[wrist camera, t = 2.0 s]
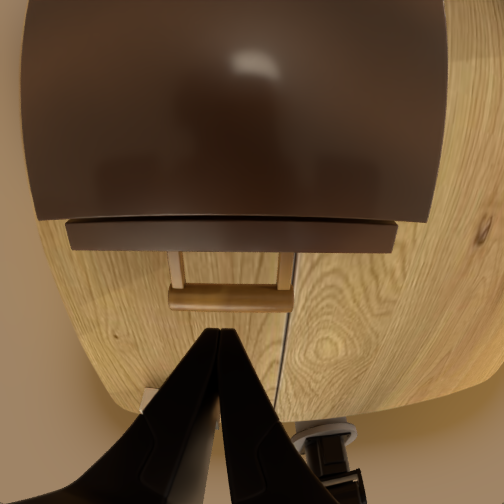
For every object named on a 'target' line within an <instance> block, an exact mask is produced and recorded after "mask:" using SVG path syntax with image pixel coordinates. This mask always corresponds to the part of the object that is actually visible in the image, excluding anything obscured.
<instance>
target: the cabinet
mask: <svg viewBox="0 0 504 504" xmlns="http://www.w3.org/2000/svg"><path fill="white" fill-rule="evenodd" d="M447 86H448V44H447V26H446V15H445V6H444V0H29V3H28V8H27V14H26V20H25V28H24V36H23V46H22V59H21V116H22V130H23V141H24V149H25V157H26V164H27V170H28V176H29V182H30V187H31V192H32V197H33V202H34V206H35V211H36V215H37V219H38V220H39V221H42V220H59V219H78V218H100V217H129V216H180V215H248V216H299V217H329V218H353V219H373V220H391V221H407V222H421V223H427V221H428V217H429V213H430V208H431V204H432V200H433V195H434V190H435V185H436V180H437V175H438V169H439V164H440V157H441V151H442V144H443V136H444V127H445V117H446V105H447Z"/></svg>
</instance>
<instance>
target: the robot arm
mask: <svg viewBox="0 0 504 504" xmlns="http://www.w3.org/2000/svg"><path fill="white" fill-rule="evenodd" d="M219 403H220V413H221V423H222V432H223V441H224V450H225V458H226V466H227V473H228V481H229V489H230V496H231V502H232V504H367V500H366V494H365V489H364V485H363V480H362V476H361V471H360V469H359V468H358V469H356V470H353V471H350V468H349V462H348V457H347V452H346V447H345V443H346V442H347V440H348V439H349V438H350V437H351V432H346V433H339V434H332V435H324V436H315V437H307V438H306V439H305V441H304V443H303V445H302V447H301V449H300V451H299V452H298V451H297V449H296V448H295V446H294V444H293V443H292V441H291V439H290V438H289V436H288V434H287V432H286V431H285V429H284V427H283V425H282V423H281V422H280V421H279V418H278V416H277V414H276V412H275V410H274V408H273V406H272V404H271V402H270V400H269V398H268V396H267V394H266V392H265V390H264V388H263V386H262V384H261V382H260V380H259V378H258V376H257V374H256V372H255V370H254V368H253V366H252V363H251V361H250V359H249V357H248V355H247V353H246V351H245V349H244V347H243V345H242V342H241V340H240V338H239V336H238V334H237V332H236V330H235V329H233V328H222V329H221V330H220V329H219V328H206V329H205V330H204V331H203V332H202V333H201V335H200V336H199V337H198V339H197V340H196V341H195V343H194V344H193V345H192V347H191V348H190V349H189V351H188V352H187V353H186V355H185V356H184V357H183V358H182V360H181V361H180V362H179V364H178V365H177V366H176V368H175V369H174V370H173V372H172V373H171V374H170V376H169V377H168V378H167V379H166V381H165V382H164V383H163V385H162V386H161V387H160V389H159V390H158V391H157V392H156V394H155V395H154V396H153V398H152V399H151V400H150V402H149V403H148V404H147V405H146V407H145V408H144V409H143V411H142V414H139V416H138V417H137V418H136V420H135V421H134V422H133V424H132V425H131V426H130V427H129V428H128V429H127V431H126V432H125V433H124V434H123V436H122V437H121V438H120V439H119V440H118V441H117V442H116V443H115V444H114V445H113V446H112V447H111V448H110V449H109V450H108V451H107V452H106V453H105V454H104V455H103V456H102V457H101V458H100V459H99V460H98V461H97V462H96V463H94V464H93V465H92V466H91V467H90V468H89V469H88V470H87V471H86V472H85V473H84V474H83V475H82V476H81V477H80V478H78V479H77V480H76V481H74V482H73V483H71V484H70V485H68V486H66V487H64V488H62V489H59V490H56V491H53V492H50V493H47V494H43V495H40V496H37V497H33V498H29V499H25V500H21V501H17V502H12V503H8V504H203V499H204V493H205V487H206V480H207V474H208V469H209V463H210V456H211V450H212V445H213V439H214V433H215V427H216V421H217V415H218V409H219ZM304 454H306V461H307V464H306V462H305V461H304V459H303V458H302V457H301V455H304ZM356 479H357V481H354V482H353V480H356ZM0 504H3V503H1V502H0ZM503 504H504V503H503Z"/></svg>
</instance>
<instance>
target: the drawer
mask: <svg viewBox="0 0 504 504" xmlns="http://www.w3.org/2000/svg"><path fill="white" fill-rule="evenodd" d="M65 226H66V230H67V234H68V238H69V242H70V246H71V249H72V250H98V251H167V258H168V264H169V271H170V277H171V284H170V287H169V291H168V303H169V307H170V309H171V310H176V311H201V312H255V313H269V312H292V310H293V306H294V290H293V286H292V284H291V275H292V266H293V256H294V252H297V253H392V250H393V246H394V242H395V238H396V234H397V230H398V224H396V223H395V222H394V221H391V220H373V219H353V218H329V217H299V216H248V215H180V216H129V217H100V218H78V219H69V220H68V221H67V222H66V223H65ZM182 251H197V252H279V257H278V270H277V284H213V283H186V279H185V271H184V263H183V255H182Z"/></svg>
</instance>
